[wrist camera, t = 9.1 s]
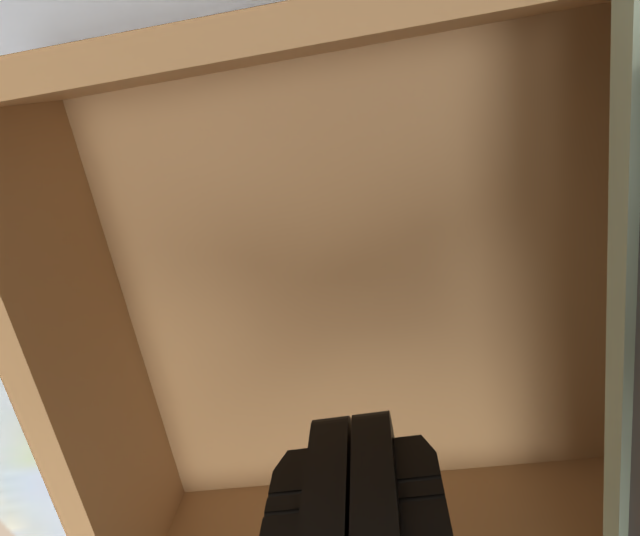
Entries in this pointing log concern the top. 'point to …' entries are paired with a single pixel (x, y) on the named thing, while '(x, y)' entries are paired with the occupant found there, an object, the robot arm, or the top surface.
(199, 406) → the tray
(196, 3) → the top surface
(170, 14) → the top surface
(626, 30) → the mailer lid
